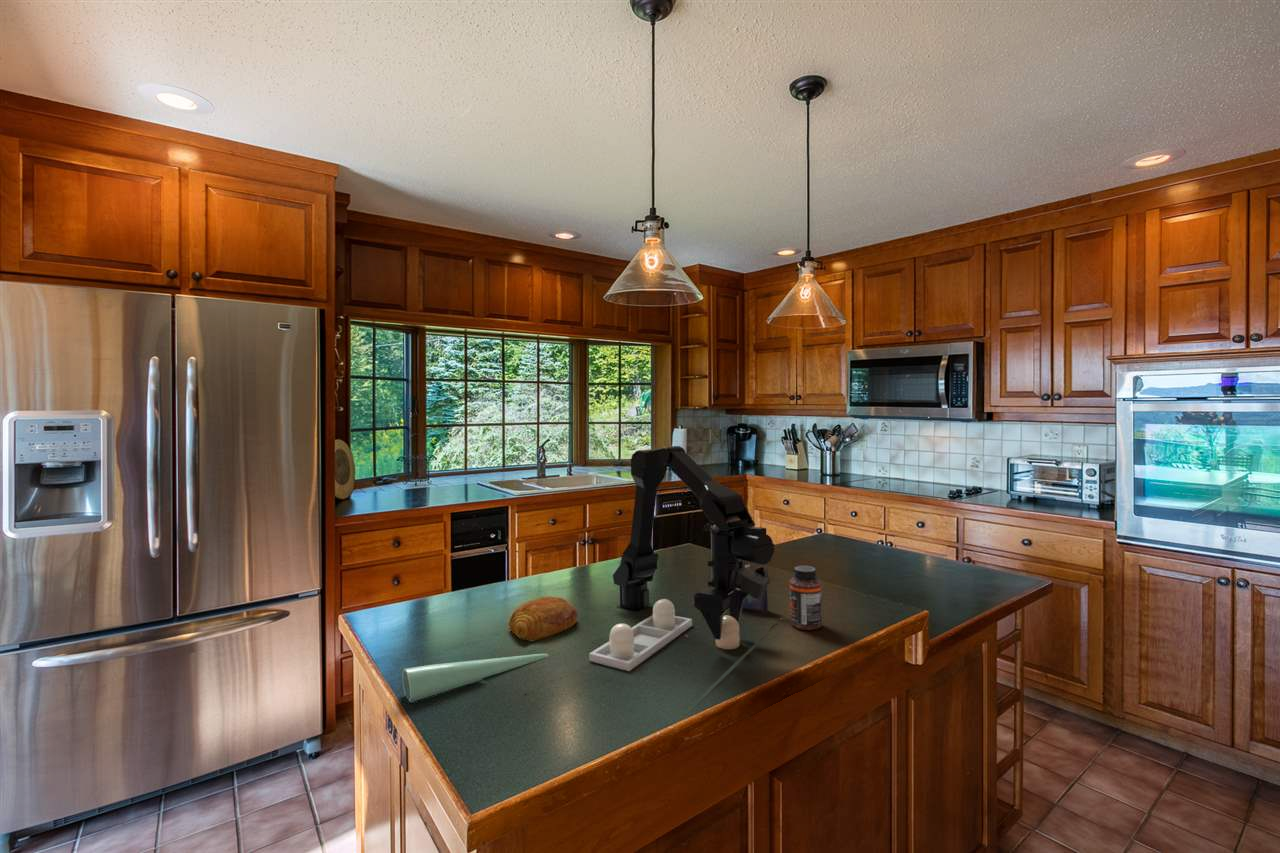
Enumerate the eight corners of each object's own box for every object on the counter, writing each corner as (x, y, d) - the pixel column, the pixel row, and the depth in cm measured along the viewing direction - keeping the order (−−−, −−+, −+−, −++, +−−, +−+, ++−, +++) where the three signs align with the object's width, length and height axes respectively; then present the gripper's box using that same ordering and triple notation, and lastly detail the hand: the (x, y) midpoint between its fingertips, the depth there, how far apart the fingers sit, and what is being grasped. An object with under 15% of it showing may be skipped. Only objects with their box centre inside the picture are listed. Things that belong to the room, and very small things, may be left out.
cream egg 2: (649, 630, 126) (648, 601, 126) (660, 623, 130) (659, 594, 130) (668, 634, 124) (667, 604, 124) (679, 626, 128) (678, 598, 128)
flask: (728, 609, 140) (727, 565, 140) (730, 605, 143) (729, 562, 142) (767, 613, 137) (766, 568, 137) (768, 609, 140) (767, 564, 139)
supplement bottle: (785, 620, 132) (784, 564, 131) (814, 619, 132) (814, 563, 132) (796, 632, 125) (795, 572, 124) (826, 630, 125) (826, 571, 125)
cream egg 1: (605, 658, 112) (604, 626, 112) (618, 649, 116) (618, 618, 116) (625, 664, 110) (624, 630, 110) (639, 654, 114) (638, 622, 114)
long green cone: (553, 636, 112) (409, 675, 97) (554, 664, 113) (410, 708, 97) (541, 628, 117) (401, 664, 101) (542, 655, 117) (402, 695, 101)
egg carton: (589, 663, 112) (589, 653, 112) (656, 620, 133) (656, 612, 133) (629, 674, 107) (628, 663, 107) (692, 628, 129) (692, 619, 129)
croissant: (588, 636, 131) (591, 601, 132) (531, 648, 120) (535, 609, 120) (548, 620, 141) (552, 587, 141) (493, 629, 130) (497, 593, 130)
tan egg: (711, 649, 117) (711, 617, 117) (721, 640, 121) (720, 610, 121) (734, 654, 115) (733, 621, 114) (743, 645, 119) (742, 614, 119)
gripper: (745, 571, 105) (747, 656, 106) (779, 549, 121) (780, 623, 122) (690, 564, 111) (692, 644, 112) (729, 543, 127) (731, 614, 127)
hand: (727, 631), depth 118 cm, fingers open, 9 cm apart
